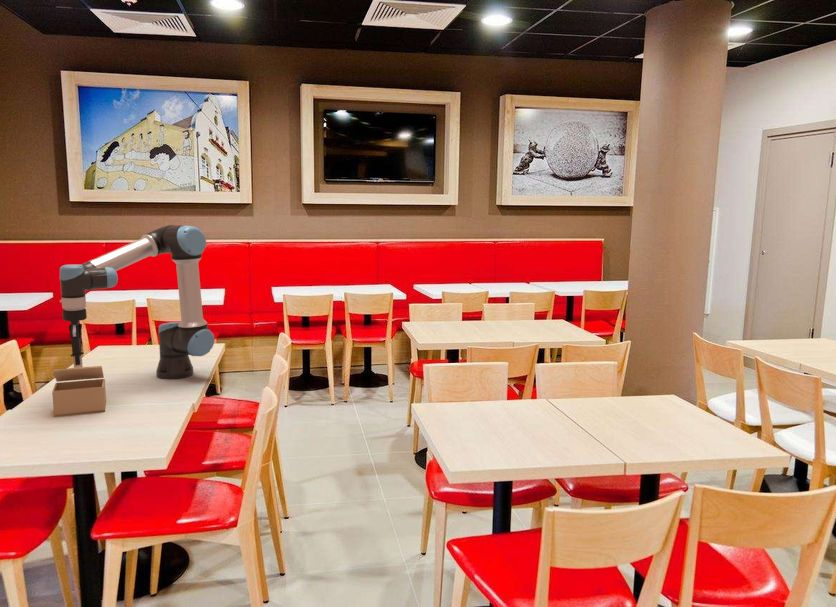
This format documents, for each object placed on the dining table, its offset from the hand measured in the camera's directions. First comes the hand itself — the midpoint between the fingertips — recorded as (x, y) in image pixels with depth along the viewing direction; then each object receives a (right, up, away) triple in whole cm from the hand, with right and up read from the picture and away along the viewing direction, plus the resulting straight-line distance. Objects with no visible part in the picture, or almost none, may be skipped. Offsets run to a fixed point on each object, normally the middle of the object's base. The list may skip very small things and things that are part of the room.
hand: (78, 373), depth 239 cm
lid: (+1, 0, -1) cm, 2 cm away
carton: (+1, -13, 0) cm, 13 cm away
